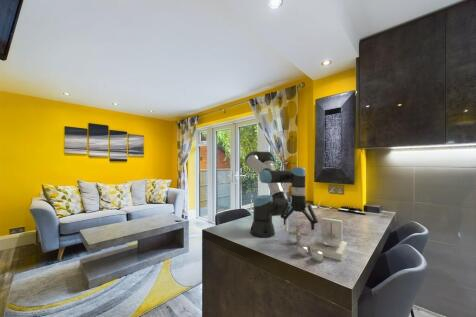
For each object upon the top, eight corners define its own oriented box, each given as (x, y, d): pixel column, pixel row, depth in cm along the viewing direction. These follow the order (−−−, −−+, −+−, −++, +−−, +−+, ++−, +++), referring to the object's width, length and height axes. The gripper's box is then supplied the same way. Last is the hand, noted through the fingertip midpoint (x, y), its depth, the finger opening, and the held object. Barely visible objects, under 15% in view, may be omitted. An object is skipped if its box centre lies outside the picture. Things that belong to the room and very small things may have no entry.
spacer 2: (310, 260, 90) (310, 251, 90) (313, 256, 94) (313, 248, 94) (321, 264, 87) (321, 254, 87) (324, 259, 91) (324, 251, 91)
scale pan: (314, 241, 99) (314, 239, 100) (319, 235, 108) (319, 233, 108) (338, 247, 93) (338, 245, 93) (342, 240, 102) (342, 238, 102)
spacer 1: (295, 255, 95) (295, 247, 95) (299, 252, 99) (299, 243, 99) (306, 258, 92) (306, 249, 92) (309, 254, 96) (309, 246, 96)
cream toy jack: (308, 247, 105) (308, 227, 106) (289, 245, 107) (289, 226, 108) (306, 240, 115) (306, 222, 115) (288, 238, 117) (288, 221, 117)
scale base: (309, 252, 99) (310, 223, 99) (319, 241, 113) (319, 216, 114) (341, 260, 90) (341, 229, 91) (347, 247, 105) (347, 220, 105)
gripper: (275, 193, 116) (275, 230, 115) (320, 197, 102) (320, 240, 101) (280, 192, 122) (280, 227, 121) (323, 196, 108) (324, 236, 107)
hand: (298, 233), depth 111 cm, fingers open, 13 cm apart
